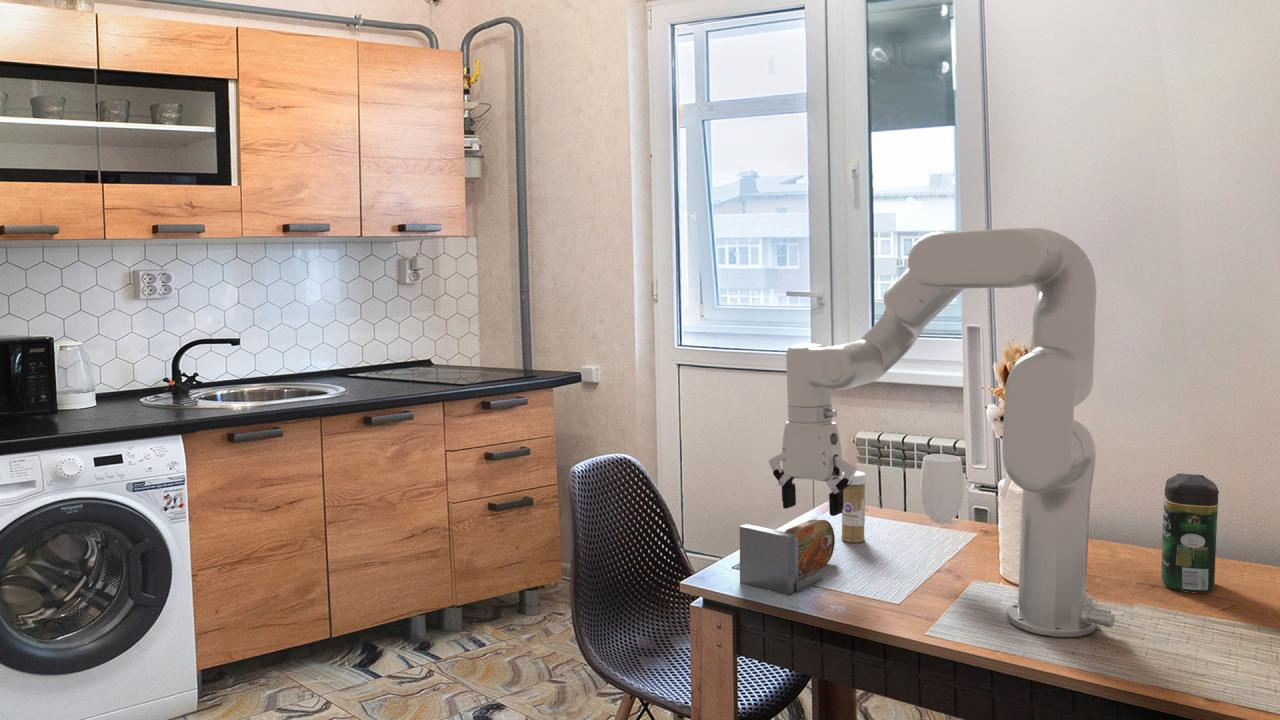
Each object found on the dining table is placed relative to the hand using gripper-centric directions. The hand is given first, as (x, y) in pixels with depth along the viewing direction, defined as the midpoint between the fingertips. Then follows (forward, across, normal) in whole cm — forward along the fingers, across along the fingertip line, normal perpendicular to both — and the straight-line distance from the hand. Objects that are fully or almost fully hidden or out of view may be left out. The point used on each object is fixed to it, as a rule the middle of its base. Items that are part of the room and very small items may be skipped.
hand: (812, 510), depth 180 cm
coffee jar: (+13, -52, -34) cm, 63 cm away
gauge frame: (+11, +1, +9) cm, 14 cm away
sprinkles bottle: (+11, +4, -20) cm, 24 cm away
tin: (+11, +2, 0) cm, 11 cm away
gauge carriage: (+10, +2, +9) cm, 13 cm away
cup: (+12, -18, -12) cm, 25 cm away
